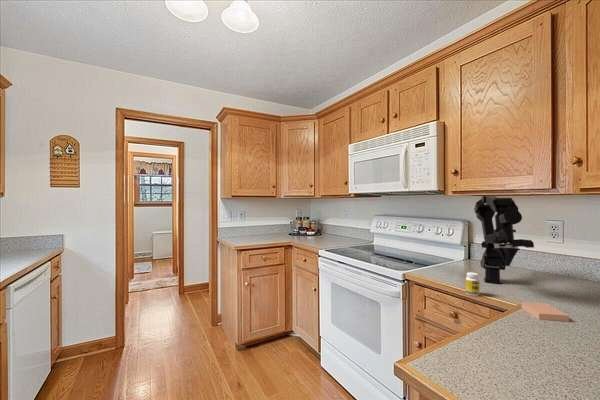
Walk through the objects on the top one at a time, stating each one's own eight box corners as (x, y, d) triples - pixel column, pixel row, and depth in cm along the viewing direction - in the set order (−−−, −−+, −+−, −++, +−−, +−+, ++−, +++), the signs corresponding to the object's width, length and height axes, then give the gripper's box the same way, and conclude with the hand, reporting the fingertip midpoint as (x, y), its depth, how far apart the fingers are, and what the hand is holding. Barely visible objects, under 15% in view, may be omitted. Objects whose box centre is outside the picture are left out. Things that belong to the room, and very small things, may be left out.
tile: (521, 302, 98) (539, 313, 88) (547, 303, 96) (568, 315, 87) (521, 308, 98) (539, 320, 88) (547, 310, 96) (568, 322, 87)
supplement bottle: (472, 296, 109) (472, 275, 109) (462, 292, 114) (462, 272, 114) (482, 295, 111) (482, 274, 111) (472, 291, 115) (472, 271, 115)
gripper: (469, 227, 122) (471, 263, 118) (508, 223, 104) (512, 265, 100) (491, 229, 124) (494, 265, 120) (533, 225, 106) (537, 267, 102)
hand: (507, 265), depth 111 cm, fingers closed
